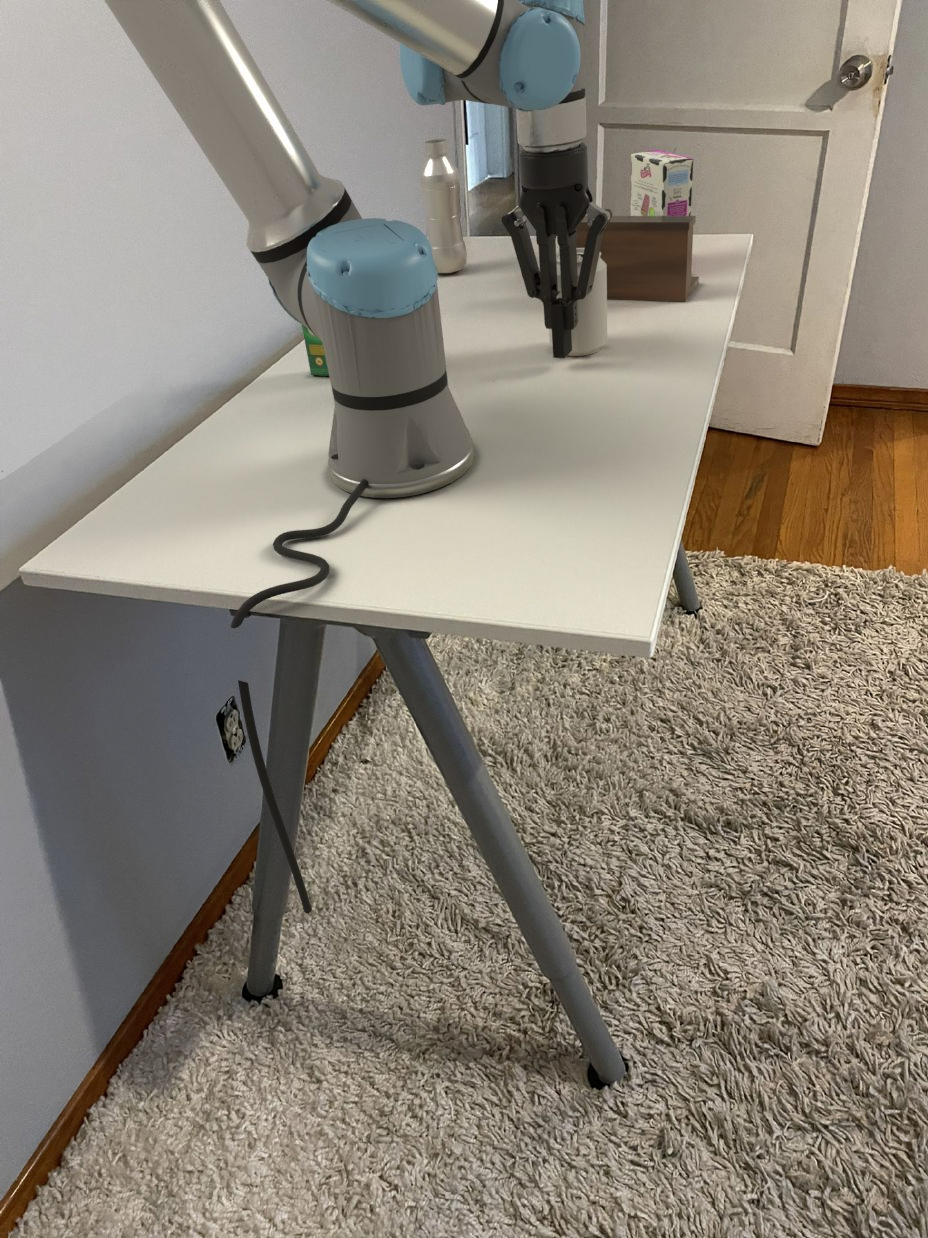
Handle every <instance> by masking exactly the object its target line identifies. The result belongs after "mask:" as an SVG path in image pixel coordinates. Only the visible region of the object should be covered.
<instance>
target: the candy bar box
mask: <svg viewBox="0 0 928 1238" xmlns="http://www.w3.org/2000/svg"><path fill="white" fill-rule="evenodd" d="M693 175H694V158H692V157H688V156H685V155H681V154H677V153H673V152H669V151H665V150H660V149H653V150H646V151H640V152H636V153H631V154H630V215H629V216H692V215H691V214H692V200H693V199H692V198H693V197H692V196H693V180H694V179H693Z"/></svg>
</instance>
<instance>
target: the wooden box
mask: <svg viewBox="0 0 928 1238" xmlns="http://www.w3.org/2000/svg"><path fill="white" fill-rule="evenodd" d="M587 220H588V215H585V217H584V218H583V220H582V221H581V223H580V225H579V226H578V228H577V239H576V248H585V243H586V238H587V234H588V231H589V229H590V227H589V226H588V223H587ZM695 224H696V215H690V216H630V215H612V218H611V219H610V221H609V223H608V225H607V226H606V228H605V230H604V233H603V238H602V243H601V248H600V252H601V256H600V258H601V259H602V260H603V261H604V262H605V263H606V265H607V300H622V301H623V300H624V301H625V300H627V301H649V302H650V301H651V302H653V301H654V302H680V303H681V302H682V303H685V302H686V301H687V300H688V299H689V298H690V296H691V295H692V294H693V292H695V290H696V289H697V287H698V286H699V284H700V277H699V276H692V266H693V265H692V264H693V245H694V242H693V241H694V240H693V239H694V225H695Z"/></svg>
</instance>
